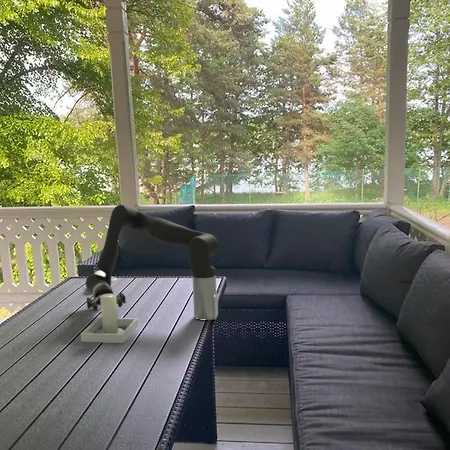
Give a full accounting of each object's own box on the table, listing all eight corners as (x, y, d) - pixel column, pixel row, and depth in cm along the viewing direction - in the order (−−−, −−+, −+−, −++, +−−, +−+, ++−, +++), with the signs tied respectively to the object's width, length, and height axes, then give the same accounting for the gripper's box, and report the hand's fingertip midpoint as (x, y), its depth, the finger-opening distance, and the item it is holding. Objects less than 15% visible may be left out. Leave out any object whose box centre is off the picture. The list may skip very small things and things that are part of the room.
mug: (91, 291, 215) (90, 276, 214) (93, 286, 224) (92, 270, 223) (116, 289, 217) (115, 274, 216) (117, 284, 227) (116, 269, 225)
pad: (126, 329, 167) (126, 328, 167) (117, 338, 158) (117, 337, 158) (104, 328, 168) (104, 327, 168) (94, 338, 160) (94, 337, 159)
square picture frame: (138, 325, 170) (137, 318, 169) (123, 343, 155) (122, 335, 154) (99, 324, 172) (99, 317, 172) (81, 341, 157) (80, 333, 156)
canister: (120, 329, 166) (118, 293, 163) (115, 335, 160) (112, 298, 158) (106, 329, 166) (104, 293, 164) (100, 335, 161) (97, 298, 159)
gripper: (83, 287, 175) (87, 299, 160) (120, 282, 180) (127, 293, 165) (85, 305, 176) (89, 319, 161) (121, 300, 181) (128, 313, 166)
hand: (108, 306), depth 163 cm, fingers open, 8 cm apart
